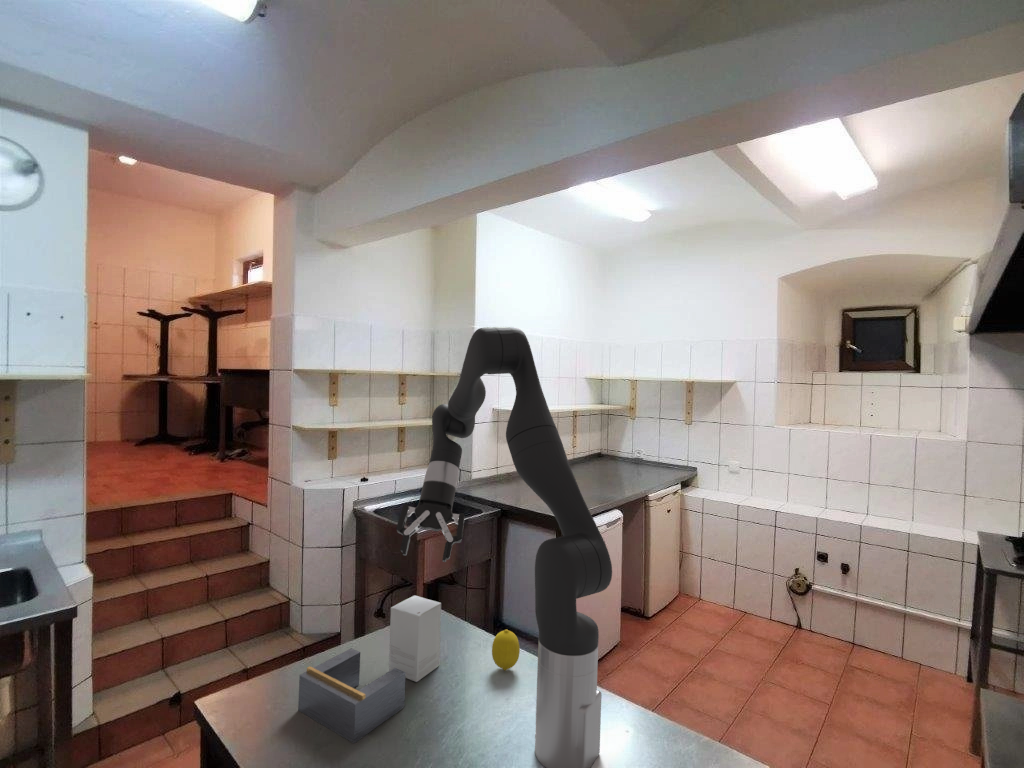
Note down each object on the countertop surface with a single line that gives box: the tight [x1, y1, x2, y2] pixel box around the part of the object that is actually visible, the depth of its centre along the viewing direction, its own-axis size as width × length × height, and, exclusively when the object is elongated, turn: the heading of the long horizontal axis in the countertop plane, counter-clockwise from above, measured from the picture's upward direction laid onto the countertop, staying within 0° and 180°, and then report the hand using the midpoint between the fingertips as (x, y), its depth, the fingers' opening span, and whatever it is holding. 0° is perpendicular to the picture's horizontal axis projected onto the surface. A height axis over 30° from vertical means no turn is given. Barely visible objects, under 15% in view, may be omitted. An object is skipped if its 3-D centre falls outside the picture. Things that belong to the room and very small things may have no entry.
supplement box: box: [388, 595, 442, 683], centre depth 99 cm, size 7×7×13 cm
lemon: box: [491, 629, 521, 672], centre depth 100 cm, size 6×6×8 cm
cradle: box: [297, 647, 406, 744], centre depth 86 cm, size 14×11×7 cm
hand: (424, 558), depth 106 cm, fingers open, 8 cm apart
